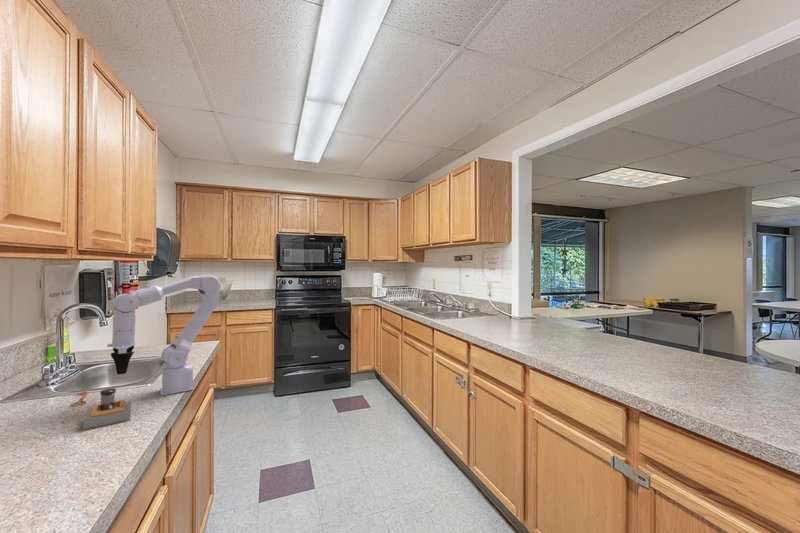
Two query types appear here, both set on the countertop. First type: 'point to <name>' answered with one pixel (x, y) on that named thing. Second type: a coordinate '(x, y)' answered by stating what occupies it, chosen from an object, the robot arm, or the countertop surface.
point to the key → (81, 398)
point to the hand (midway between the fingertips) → (122, 370)
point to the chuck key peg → (107, 398)
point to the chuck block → (107, 415)
